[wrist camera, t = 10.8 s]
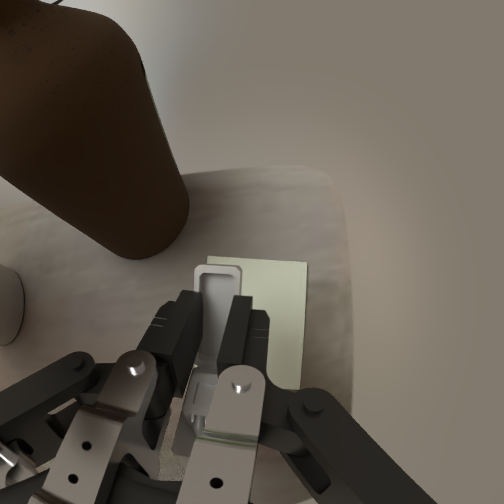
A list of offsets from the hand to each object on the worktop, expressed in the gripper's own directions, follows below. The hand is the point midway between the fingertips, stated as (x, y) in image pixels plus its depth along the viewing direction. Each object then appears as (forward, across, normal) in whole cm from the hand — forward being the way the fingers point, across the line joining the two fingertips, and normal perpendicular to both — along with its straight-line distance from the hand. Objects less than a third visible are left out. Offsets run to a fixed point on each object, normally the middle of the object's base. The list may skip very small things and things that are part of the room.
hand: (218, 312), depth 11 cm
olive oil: (+15, +10, +1) cm, 18 cm away
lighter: (-2, 0, +6) cm, 7 cm away
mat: (+8, -1, +7) cm, 11 cm away
